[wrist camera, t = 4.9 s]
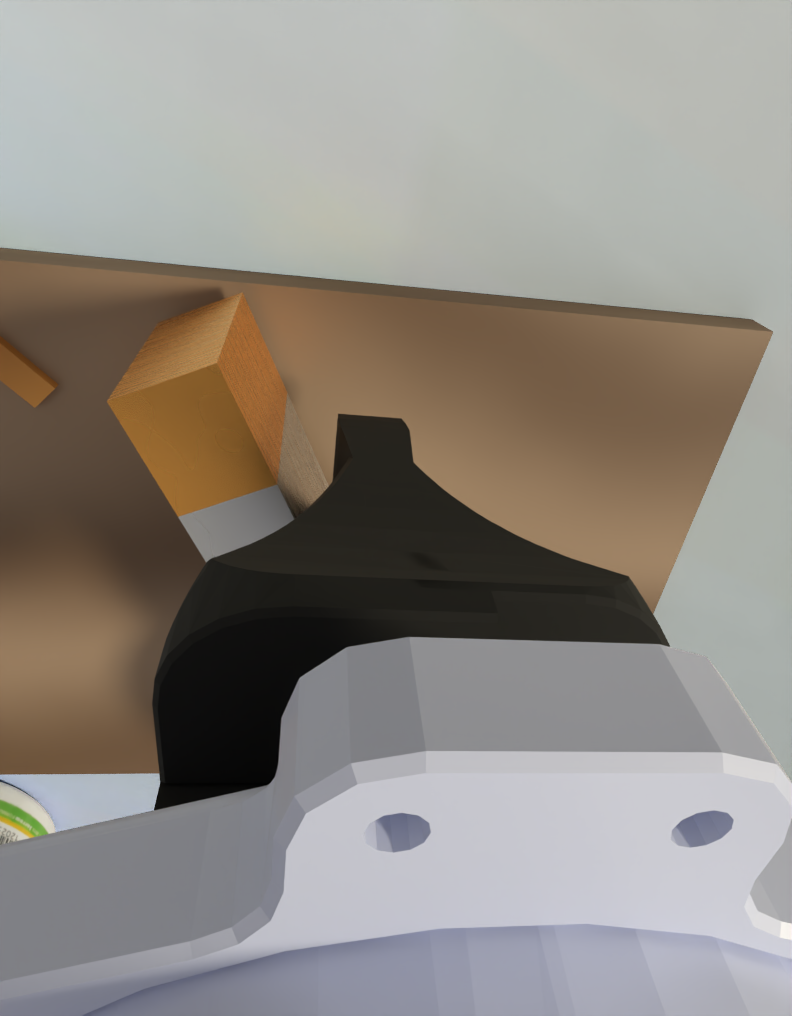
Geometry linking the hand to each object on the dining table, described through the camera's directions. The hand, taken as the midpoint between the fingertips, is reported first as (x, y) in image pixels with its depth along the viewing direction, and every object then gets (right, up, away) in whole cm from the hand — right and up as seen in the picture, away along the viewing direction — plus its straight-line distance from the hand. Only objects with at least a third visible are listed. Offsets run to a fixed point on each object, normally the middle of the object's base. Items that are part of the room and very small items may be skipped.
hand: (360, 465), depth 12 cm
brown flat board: (-2, -2, +4) cm, 5 cm away
